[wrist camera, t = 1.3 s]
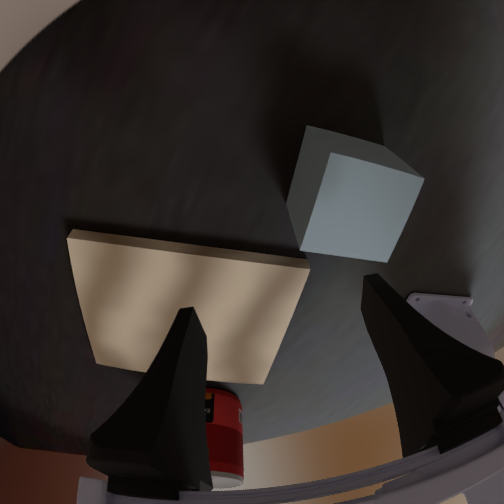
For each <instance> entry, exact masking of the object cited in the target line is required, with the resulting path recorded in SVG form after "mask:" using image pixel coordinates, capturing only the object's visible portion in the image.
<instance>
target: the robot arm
mask: <svg viewBox="0 0 504 504" xmlns="http://www.w3.org/2000/svg"><path fill="white" fill-rule="evenodd" d="M472 302H473V299H472V298H471V297H461V296H449V295H436V294H424V293H412V294H410V295H409V297H408V298H407V300H405V299H403V298H402V297H401V296H400V295H399V294H398V293H397V292H396V291H395V290H394V289H393V288H392V287H391V286H390V285H389V284H388V283H387V282H386V281H385V280H384V279H383V278H382V277H381V276H380V275H379V274H377V273H376V274H371V275H366V276H364V280H363V291H362V302H361V311H362V315H363V318H364V322H365V325H366V328H367V331H368V333H369V336H370V338H371V340H372V343H373V345H374V347H375V350H376V352H377V354H378V357H379V359H380V361H381V364H382V366H383V369H384V371H385V374H386V377H387V380H388V384H389V388H390V391H391V395H392V399H393V403H394V407H395V412H396V417H397V422H398V427H399V432H400V439H401V446H402V455H403V458H402V459H399V460H396V461H393V462H389V463H386V464H383V465H380V466H376V467H373V468H369V469H366V470H362V471H358V472H354V473H350V474H346V475H341V476H337V477H332V478H328V479H322V480H317V481H312V482H306V483H300V484H293V485H286V486H279V487H270V488H260V489H249V490H235V491H211V490H212V489H213V483H212V477H211V470H210V463H209V455H208V447H207V435H206V421H205V394H206V379H207V364H208V348H207V336H206V333H205V331H204V329H203V327H202V325H201V322H200V320H199V318H198V316H197V313H196V311H195V309H194V306H193V307H186V308H180V309H179V310H178V312H177V315H176V317H175V319H174V321H173V323H172V325H171V327H170V330H169V332H168V334H167V336H166V338H165V340H164V342H163V344H162V345H161V347H160V349H159V351H158V353H157V355H156V356H155V358H154V360H153V362H152V363H151V365H150V367H149V368H148V370H147V372H146V373H145V375H144V376H143V378H142V379H141V381H140V382H139V384H138V385H137V386H136V388H135V389H134V390H133V392H132V393H131V394H130V395H129V397H128V398H127V399H126V400H125V402H124V403H123V404H122V405H121V406H120V407H119V408H118V409H117V410H116V411H115V413H114V414H113V415H112V416H111V417H110V418H109V419H108V420H107V421H106V422H105V423H103V424H102V425H101V426H100V427H99V428H98V429H97V430H96V431H94V432H93V433H92V434H91V436H90V440H89V445H88V451H87V458H86V462H87V464H88V465H89V466H90V467H92V468H94V469H96V470H98V471H100V472H101V473H103V474H106V475H108V476H109V477H108V482H107V481H104V480H99V479H94V478H88V477H83V476H81V477H80V480H79V488H78V496H77V504H279V503H287V502H294V501H300V500H307V499H313V498H319V497H324V496H329V495H333V494H338V493H343V492H347V491H351V490H355V489H359V488H363V487H367V486H370V485H373V484H377V483H380V482H384V481H387V480H390V479H393V478H397V477H399V478H397V479H395V480H392V481H389V482H387V483H384V484H383V486H382V488H380V489H378V490H376V491H375V495H370V496H366V497H362V498H358V499H353V500H349V501H344V502H340V503H335V504H439V503H441V502H443V501H445V500H448V499H450V498H452V497H454V496H456V495H458V494H460V493H462V494H464V495H465V497H466V500H467V503H468V504H504V365H503V363H502V362H501V361H499V360H497V359H495V358H494V357H495V356H494V349H493V346H492V343H491V341H490V340H489V338H488V336H487V335H486V333H485V331H484V330H483V328H482V326H481V325H480V323H479V321H478V320H477V318H476V316H475V315H474V313H473V312H472V310H471V309H470V305H471V304H472ZM411 472H412V473H411ZM408 473H409V474H408ZM405 474H407V475H405ZM403 475H404V476H403ZM400 476H402V477H400Z"/></svg>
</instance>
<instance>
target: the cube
mask: <svg viewBox="0 0 504 504" xmlns="http://www.w3.org/2000/svg"><path fill="white" fill-rule="evenodd" d="M423 182H424V178H423V177H422V176H421V175H420V174H419V173H417V172H416V171H415V170H414V169H413V168H411V167H410V166H409V165H408V164H407V163H405V162H404V161H403V160H402V159H400V158H399V157H398V156H397V155H395V154H394V153H393V152H391V151H390V150H389V149H388V148H386V147H385V146H382V145H379V144H376V143H373V142H369V141H366V140H362V139H359V138H355V137H352V136H348V135H344V134H340V133H337V132H333V131H329V130H325V129H321V128H316V127H312V126H308V125H307V126H306V130H305V134H304V138H303V142H302V145H301V149H300V153H299V157H298V161H297V164H296V168H295V172H294V176H293V180H292V183H291V187H290V191H289V194H288V198H287V202H286V205H287V208H288V212H289V215H290V218H291V222H292V225H293V228H294V232H295V235H296V239H297V242H298V246H299V249H300V251H307V252H314V253H322V254H329V255H336V256H343V257H351V258H358V259H365V260H372V261H379V262H386V263H387V262H388V260H389V258H390V256H391V254H392V252H393V249H394V247H395V245H396V243H397V241H398V239H399V237H400V235H401V233H402V231H403V228H404V226H405V224H406V222H407V220H408V217H409V215H410V213H411V210H412V208H413V206H414V204H415V201H416V199H417V197H418V194H419V192H420V189H421V187H422V184H423Z"/></svg>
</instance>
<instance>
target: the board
mask: <svg viewBox="0 0 504 504" xmlns="http://www.w3.org/2000/svg"><path fill="white" fill-rule="evenodd" d="M67 242H68V248H69V254H70V259H71V265H72V270H73V275H74V280H75V285H76V289H77V294H78V298H79V302H80V306H81V310H82V314H83V318H84V322H85V326H86V329H87V333H88V336H89V340H90V343H91V347H92V350H93V353H94V356H95V360H96V363H97V364H102V365H107V366H112V367H117V368H123V369H128V370H134V371H140V372H147V370H148V368H149V367H150V365H151V363H152V362H153V360H154V358H155V356H156V355H157V353H158V351H159V349H160V347H161V345H162V344H163V342H164V340H165V338H166V336H167V334H168V332H169V330H170V327H171V325H172V323H173V321H174V319H175V317H176V315H177V312H178V310H179V309H180V308H186V307H193V306H194V309H195V311H196V313H197V316H198V318H199V320H200V322H201V325H202V327H203V329H204V331H205V333H206V336H207V348H208V364H207V379H206V380H210V381H221V382H234V383H249V384H264V381H265V379H266V377H267V375H268V372H269V370H270V368H271V365H272V363H273V361H274V358H275V356H276V354H277V351H278V349H279V347H280V344H281V342H282V339H283V337H284V335H285V332H286V330H287V327H288V325H289V322H290V320H291V317H292V315H293V312H294V310H295V307H296V305H297V302H298V300H299V297H300V295H301V292H302V290H303V287H304V285H305V282H306V279H307V277H308V274H309V271H310V267H309V263H308V260H307V259H301V258H293V257H285V256H278V255H270V254H262V253H254V252H247V251H239V250H231V249H223V248H216V247H208V246H200V245H193V244H185V243H177V242H169V241H162V240H154V239H146V238H138V237H131V236H123V235H115V234H108V233H100V232H92V231H84V230H77V229H73V230H72V231H71V233H70V234H69V235H68V237H67Z"/></svg>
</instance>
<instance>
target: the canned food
mask: <svg viewBox="0 0 504 504" xmlns="http://www.w3.org/2000/svg"><path fill="white" fill-rule="evenodd" d="M205 421H206V435H207V447H208V455H209V463H210V470H211V477H212V483H213V488H231V487H236V486H240V485H242V484H243V479H244V475H243V472H244V468H243V431H242V406H241V403H240V400H239V399H238V398H237V397H236V396H235V395H233V394H232V393H230V392H227V391H224V390H221V389H216V388H206V394H205Z"/></svg>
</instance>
